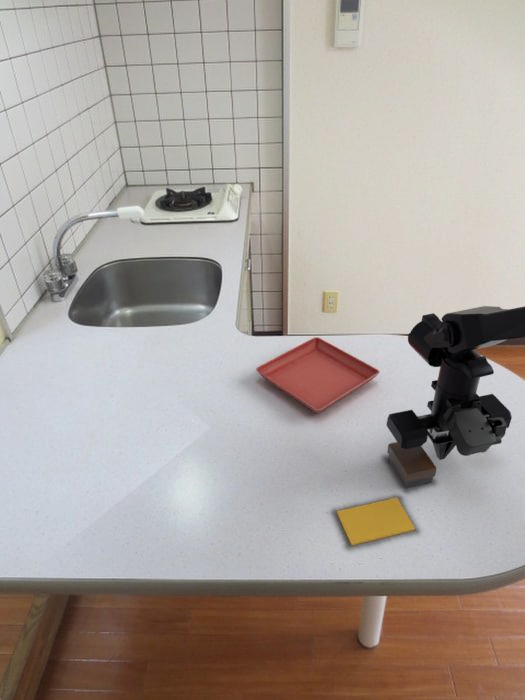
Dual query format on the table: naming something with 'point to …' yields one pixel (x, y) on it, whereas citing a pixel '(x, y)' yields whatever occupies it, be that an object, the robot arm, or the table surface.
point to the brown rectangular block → (411, 465)
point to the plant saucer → (317, 374)
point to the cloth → (375, 521)
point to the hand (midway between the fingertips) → (440, 457)
